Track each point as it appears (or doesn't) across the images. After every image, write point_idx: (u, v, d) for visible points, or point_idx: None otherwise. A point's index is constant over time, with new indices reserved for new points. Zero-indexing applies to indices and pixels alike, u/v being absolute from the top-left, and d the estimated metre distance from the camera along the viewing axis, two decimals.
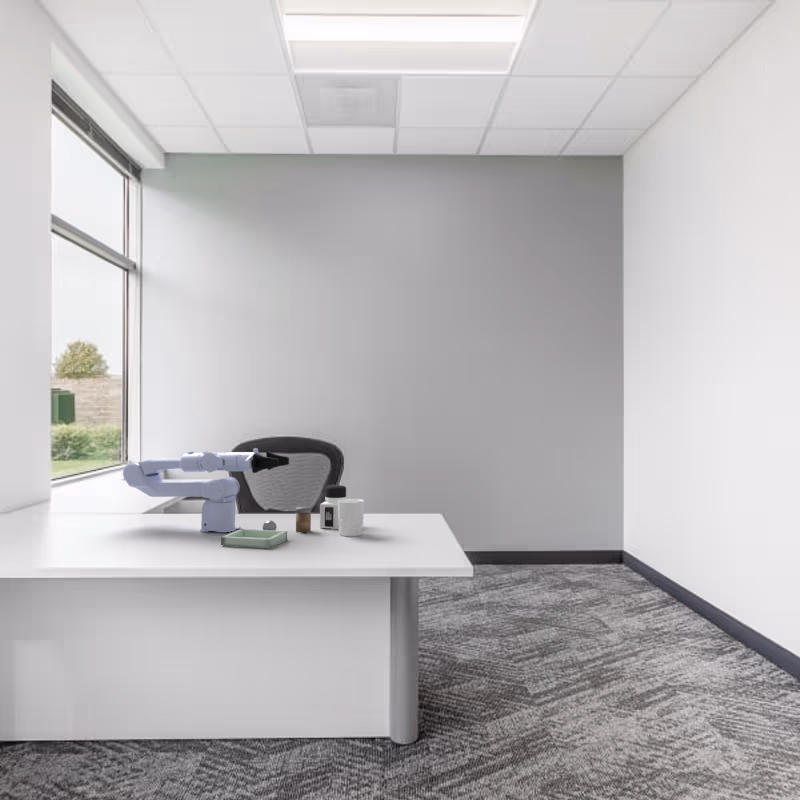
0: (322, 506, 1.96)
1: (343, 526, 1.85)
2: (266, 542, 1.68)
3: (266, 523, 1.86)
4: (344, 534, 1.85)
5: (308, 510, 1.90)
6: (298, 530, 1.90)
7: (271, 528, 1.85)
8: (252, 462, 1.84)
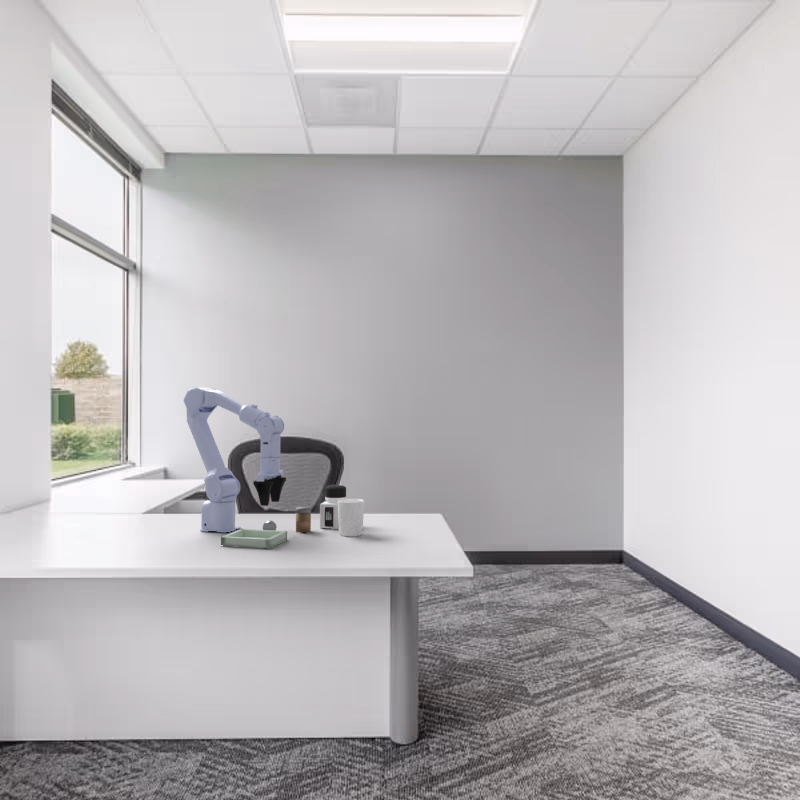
0: (322, 506, 1.96)
1: (343, 526, 1.85)
2: (266, 542, 1.68)
3: (266, 523, 1.86)
4: (344, 534, 1.85)
5: (308, 510, 1.90)
6: (298, 530, 1.90)
7: (271, 528, 1.85)
8: (262, 482, 1.81)
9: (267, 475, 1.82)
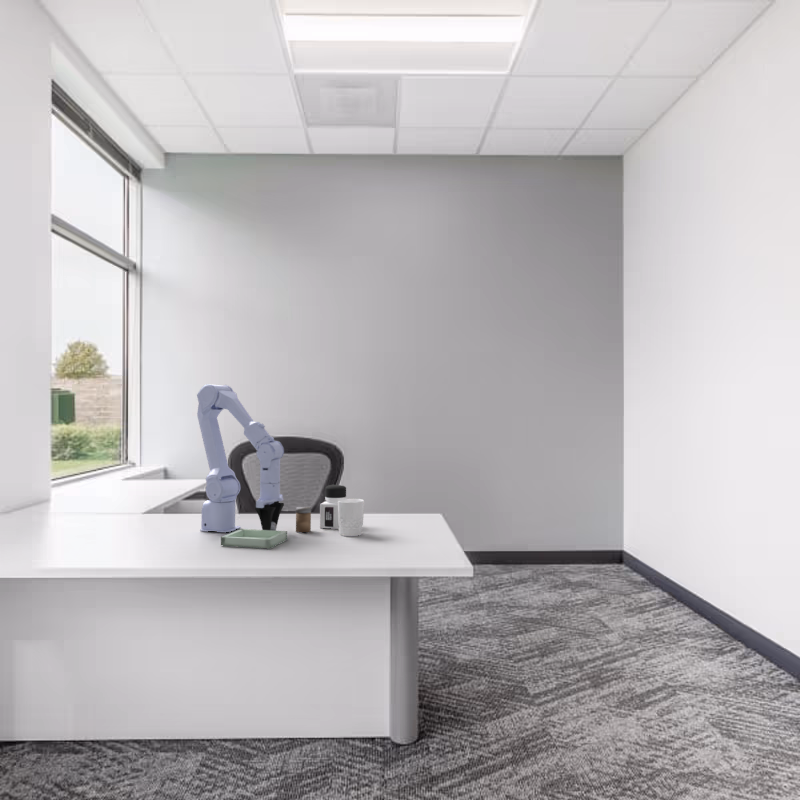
0: (322, 506, 1.96)
1: (343, 526, 1.85)
2: (266, 542, 1.68)
3: None
4: (344, 534, 1.85)
5: (308, 510, 1.90)
6: (298, 530, 1.90)
7: (271, 528, 1.85)
8: (264, 507, 1.83)
9: (267, 501, 1.82)
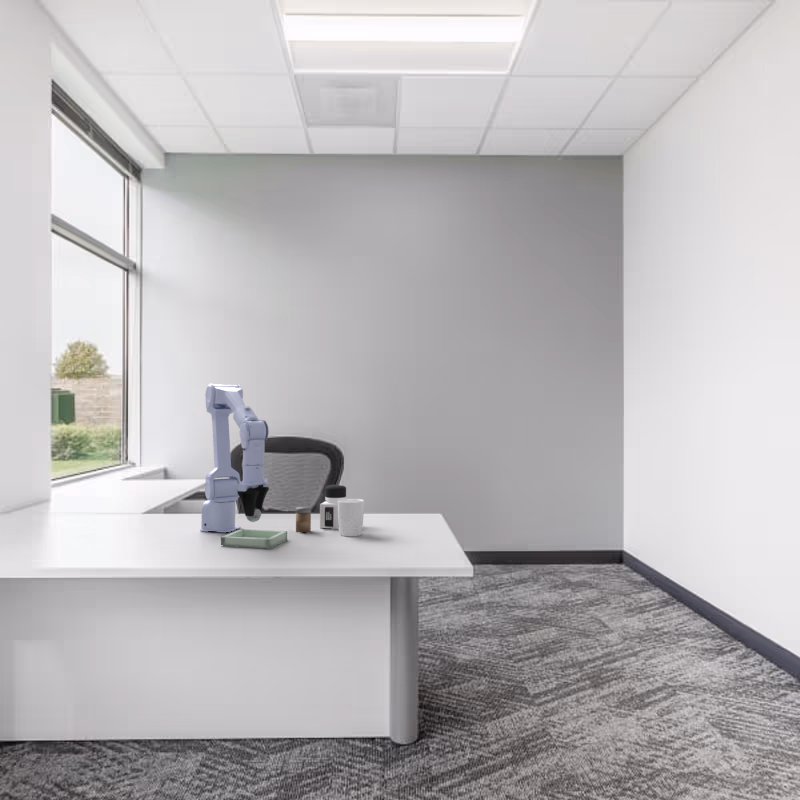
0: (322, 506, 1.96)
1: (343, 526, 1.85)
2: (266, 542, 1.68)
3: None
4: (344, 534, 1.85)
5: (308, 510, 1.90)
6: (298, 530, 1.90)
7: (255, 516, 1.72)
8: (246, 491, 1.69)
9: (250, 484, 1.69)
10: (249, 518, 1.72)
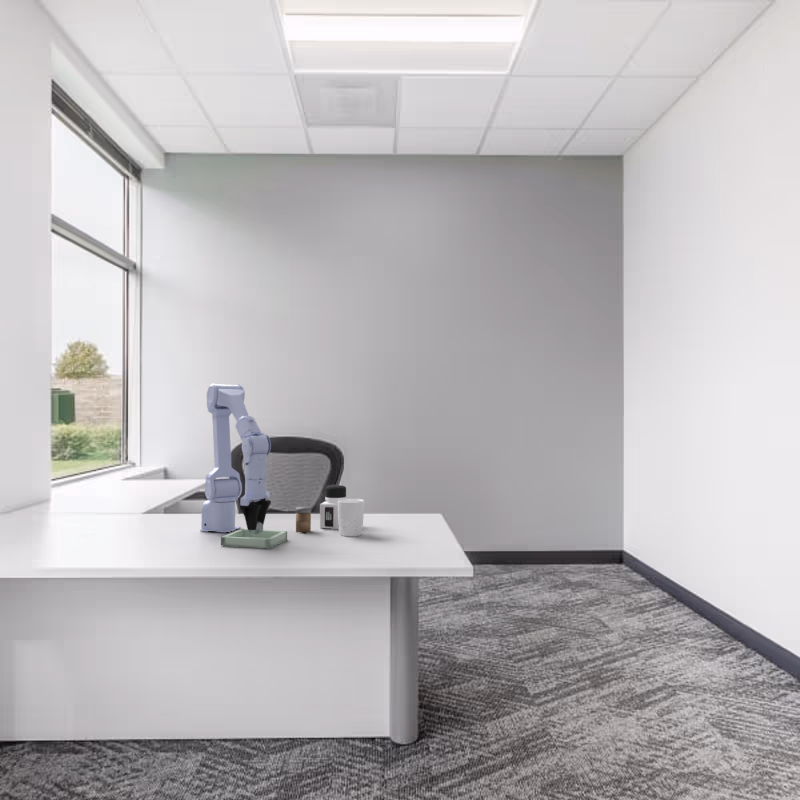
0: (322, 506, 1.96)
1: (343, 526, 1.85)
2: (266, 542, 1.68)
3: None
4: (344, 534, 1.85)
5: (308, 510, 1.90)
6: (298, 530, 1.90)
7: (257, 529, 1.73)
8: (249, 505, 1.71)
9: (252, 499, 1.70)
10: (251, 532, 1.74)
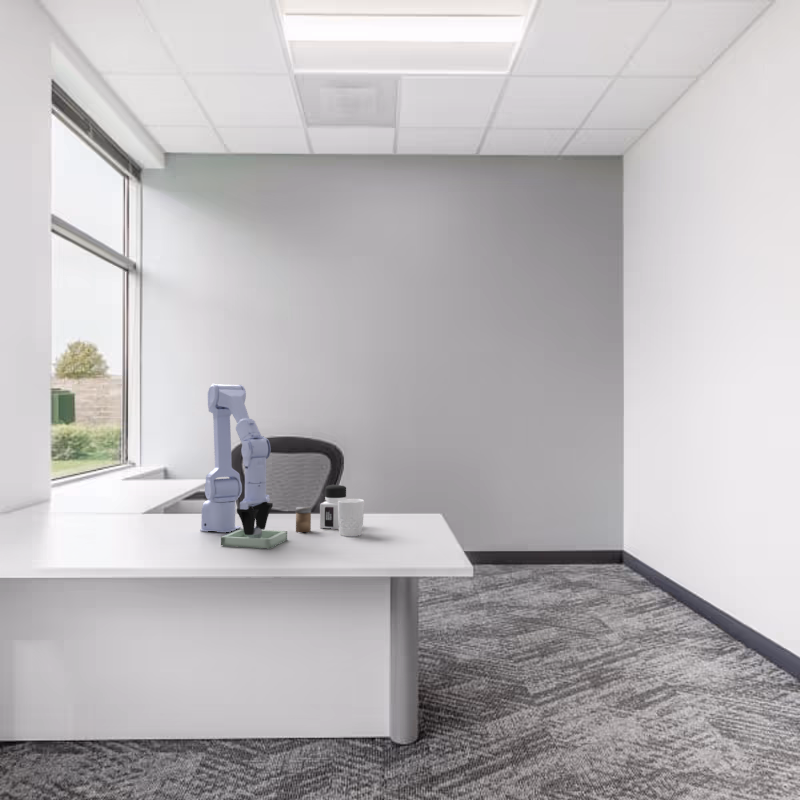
0: (322, 506, 1.96)
1: (343, 526, 1.85)
2: (266, 542, 1.68)
3: None
4: (344, 534, 1.85)
5: (308, 510, 1.90)
6: (298, 530, 1.90)
7: (256, 536, 1.73)
8: (246, 510, 1.69)
9: (251, 502, 1.70)
10: None
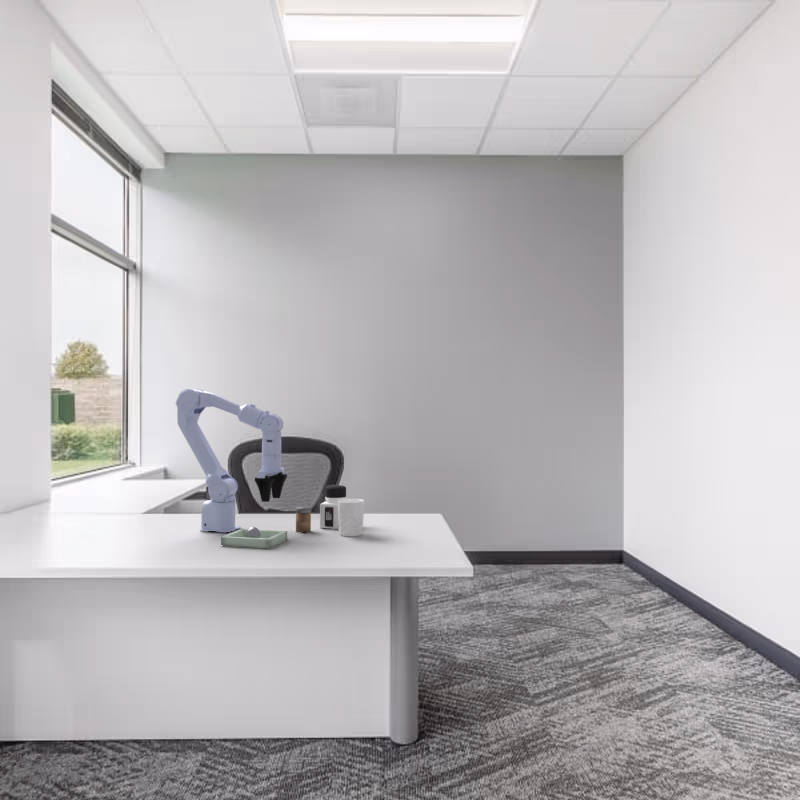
0: (322, 506, 1.96)
1: (343, 526, 1.85)
2: (266, 542, 1.68)
3: (248, 536, 1.72)
4: (344, 534, 1.85)
5: (308, 510, 1.90)
6: (298, 530, 1.90)
7: None
8: (263, 478, 1.86)
9: (268, 472, 1.87)
10: None
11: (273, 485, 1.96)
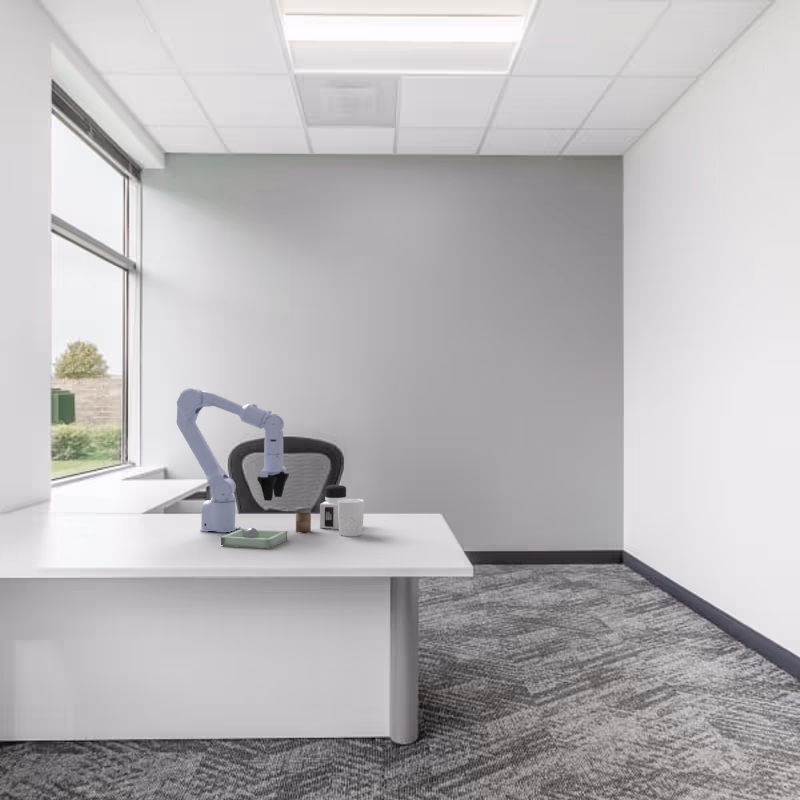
0: (322, 506, 1.96)
1: (343, 526, 1.85)
2: (266, 542, 1.68)
3: None
4: (344, 534, 1.85)
5: (308, 510, 1.90)
6: (298, 530, 1.90)
7: None
8: (266, 477, 1.88)
9: (271, 471, 1.89)
10: None
11: (275, 484, 1.98)
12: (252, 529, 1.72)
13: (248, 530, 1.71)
